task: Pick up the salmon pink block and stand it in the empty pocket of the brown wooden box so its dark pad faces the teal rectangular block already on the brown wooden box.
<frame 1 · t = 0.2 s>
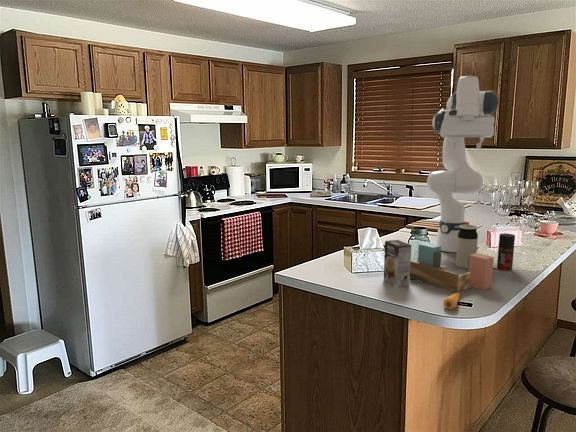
hand: (466, 147, 187), 52 cm above the countertop, tool tilted 20°, fingers open, 8 cm apart
coffee box: (396, 282, 184), on the countertop
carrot: (455, 302, 164), on the countertop
teal rectangular block: (428, 278, 188), resting on brown wooden box
deodorant: (504, 269, 200), on the countertop
salmon pink block: (479, 286, 179), on the countertop
brown wooden box: (438, 282, 184), on the countertop
travel mug: (465, 267, 204), on the countertop
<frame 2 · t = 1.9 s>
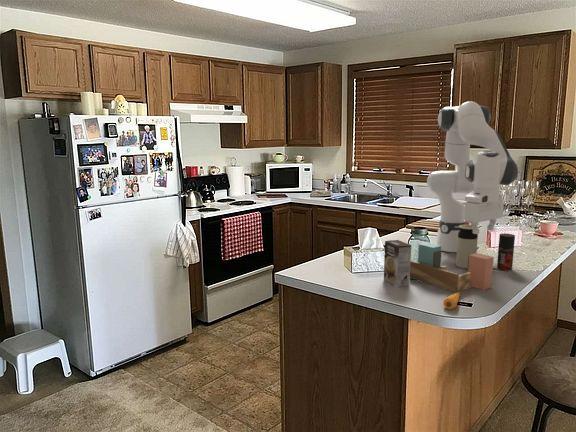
hand: (483, 231, 175), 21 cm above the countertop, tool pointing down, fingers open, 8 cm apart
nothing on the countertop moved.
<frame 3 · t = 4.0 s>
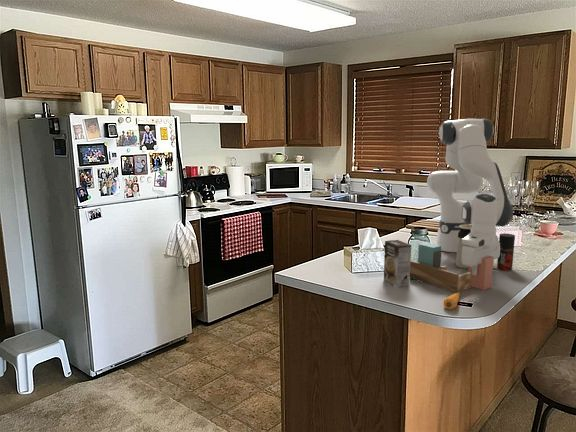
hand: (480, 273, 178), 5 cm above the countertop, tool pointing down, fingers closed on salmon pink block, 5 cm apart
salmon pink block: (479, 286, 179), on the countertop, touching gripper
everything else where it was.
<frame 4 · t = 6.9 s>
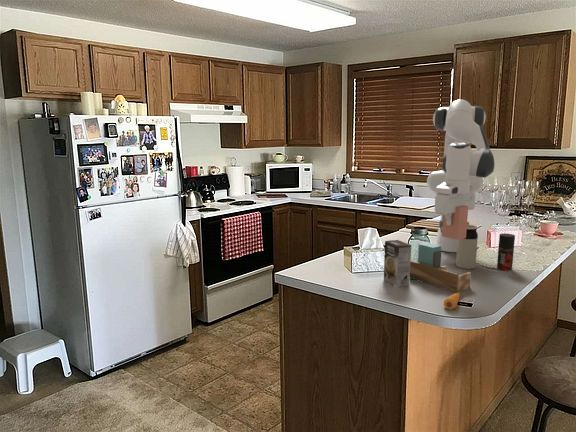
hand: (454, 223, 175), 24 cm above the countertop, tool pointing down, fingers closed on salmon pink block, 5 cm apart
salmon pink block: (453, 237, 176), point 19 cm above the countertop, touching gripper
everything else where it was.
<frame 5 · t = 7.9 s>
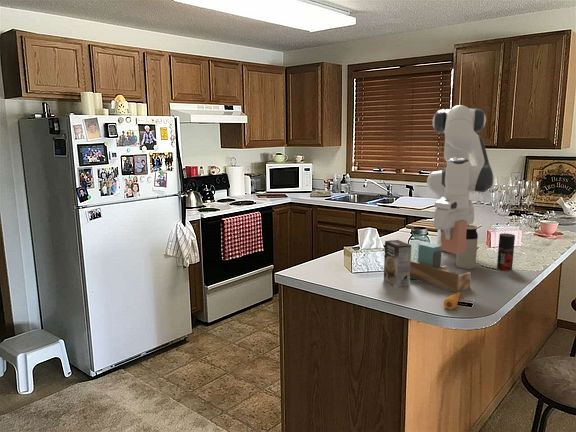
hand: (453, 238, 176), 19 cm above the countertop, tool pointing down, fingers closed on salmon pink block, 5 cm apart
salmon pink block: (453, 251, 177), point 14 cm above the countertop, touching gripper
everything else where it was.
when the fingers open (9 cm above the countertop, at t = 10.1 s): salmon pink block drops 1 cm, resting on brown wooden box.
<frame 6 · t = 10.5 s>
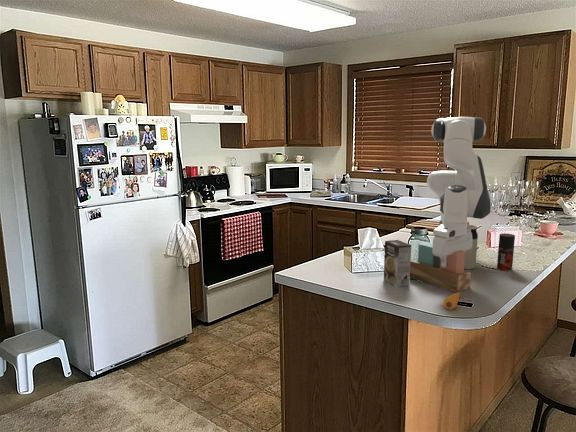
hand: (452, 264, 178), 9 cm above the countertop, tool pointing down, fingers open, 8 cm apart
salmon pink block: (451, 280, 180), point 2 cm above the countertop, touching brown wooden box
everything else where it was.
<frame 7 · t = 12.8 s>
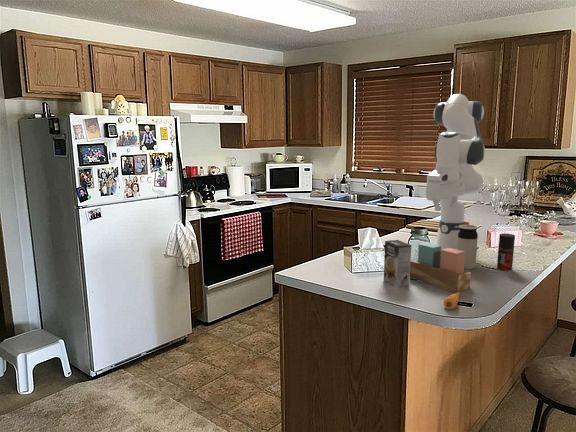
hand: (445, 209, 185), 28 cm above the countertop, tool pointing down, fingers open, 8 cm apart
nothing on the countertop moved.
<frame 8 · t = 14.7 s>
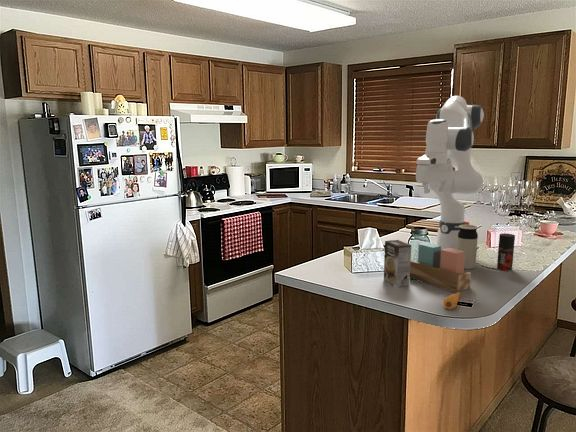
hand: (434, 192, 196), 33 cm above the countertop, tool pointing down, fingers open, 8 cm apart
nothing on the countertop moved.
at the end: salmon pink block inside the target area (0.3 cm from its centre), point 2.0 cm above the countertop; salmon pink block tilted 0°; the gripper is holding nothing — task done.
